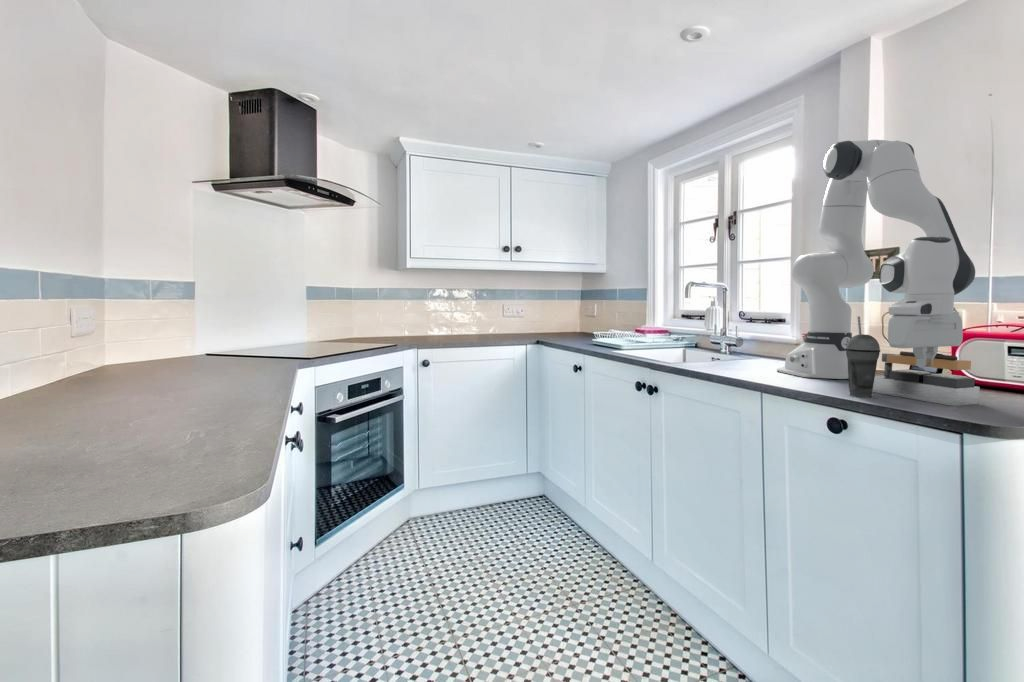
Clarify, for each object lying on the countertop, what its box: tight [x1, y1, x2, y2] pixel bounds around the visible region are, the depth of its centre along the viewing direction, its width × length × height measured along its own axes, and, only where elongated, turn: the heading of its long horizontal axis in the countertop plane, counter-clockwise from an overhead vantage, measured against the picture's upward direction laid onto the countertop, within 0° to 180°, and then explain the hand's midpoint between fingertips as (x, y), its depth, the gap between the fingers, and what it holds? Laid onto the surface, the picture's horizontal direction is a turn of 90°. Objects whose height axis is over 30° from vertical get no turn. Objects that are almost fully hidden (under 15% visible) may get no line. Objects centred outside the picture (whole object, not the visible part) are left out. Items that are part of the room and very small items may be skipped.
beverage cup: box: [845, 316, 882, 398], centre depth 125 cm, size 7×7×20 cm
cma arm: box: [881, 350, 972, 371], centre depth 123 cm, size 18×4×3 cm, turn 17°
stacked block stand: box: [872, 362, 981, 407], centre depth 123 cm, size 20×8×8 cm, turn 17°
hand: (924, 366), depth 116 cm, fingers closed
